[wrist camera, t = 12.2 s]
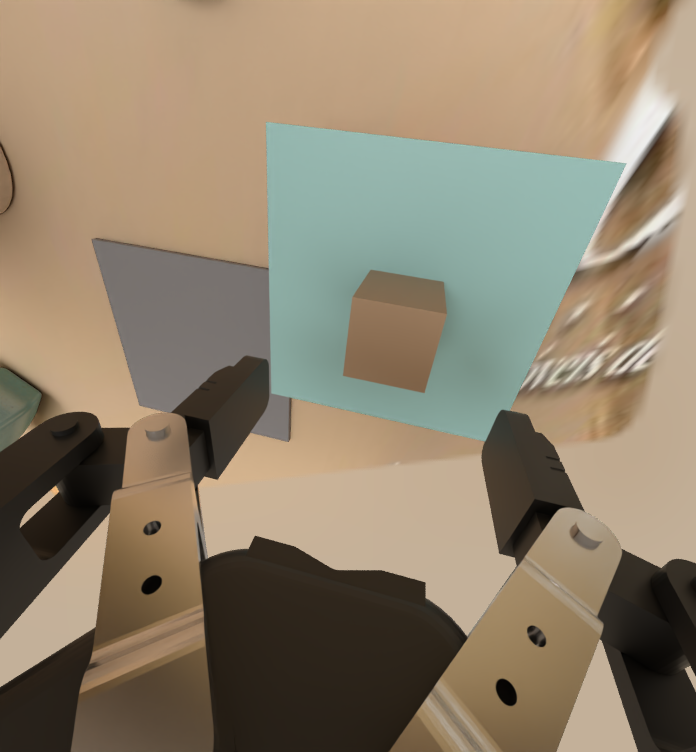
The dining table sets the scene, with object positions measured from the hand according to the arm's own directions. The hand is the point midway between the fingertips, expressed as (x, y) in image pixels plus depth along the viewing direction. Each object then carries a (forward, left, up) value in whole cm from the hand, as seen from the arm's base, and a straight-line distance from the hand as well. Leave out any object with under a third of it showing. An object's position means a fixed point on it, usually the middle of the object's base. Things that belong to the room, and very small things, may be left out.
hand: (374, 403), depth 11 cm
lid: (0, 0, -10) cm, 10 cm away
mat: (-18, -10, -16) cm, 26 cm away
